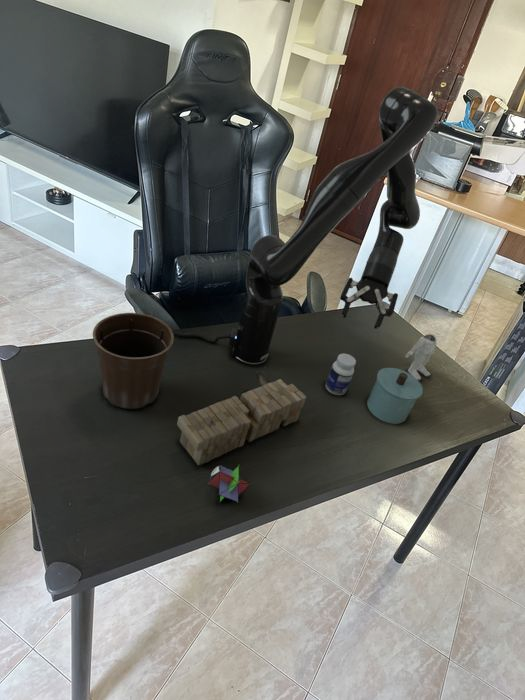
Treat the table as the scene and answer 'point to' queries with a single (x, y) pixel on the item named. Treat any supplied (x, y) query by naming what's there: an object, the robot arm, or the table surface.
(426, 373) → the toy creature
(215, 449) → the block tower
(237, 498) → the geometric puzzle
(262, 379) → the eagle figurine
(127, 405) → the plant pot
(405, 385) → the pot
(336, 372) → the pill bottle
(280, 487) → the table surface
